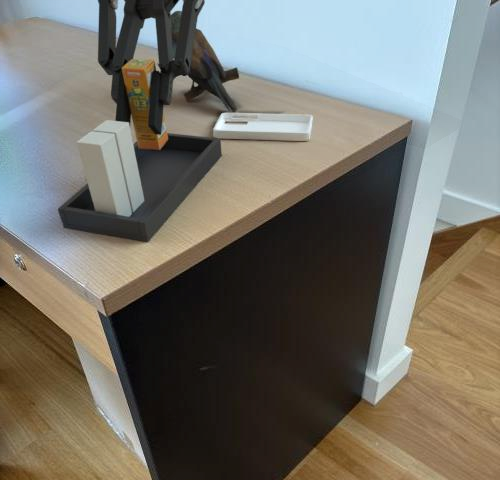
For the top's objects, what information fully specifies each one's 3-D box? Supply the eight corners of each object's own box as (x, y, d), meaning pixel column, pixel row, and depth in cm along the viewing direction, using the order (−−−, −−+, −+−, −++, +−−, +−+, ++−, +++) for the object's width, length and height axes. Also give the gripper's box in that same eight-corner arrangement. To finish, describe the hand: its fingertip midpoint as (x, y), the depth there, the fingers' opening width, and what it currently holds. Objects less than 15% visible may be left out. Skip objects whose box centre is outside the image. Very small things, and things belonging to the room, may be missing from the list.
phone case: (213, 138, 80) (309, 141, 78) (212, 130, 79) (309, 132, 77) (222, 120, 85) (312, 122, 83) (221, 112, 84) (313, 114, 82)
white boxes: (98, 223, 62) (75, 141, 55) (124, 197, 66) (106, 119, 59) (120, 226, 61) (100, 144, 54) (144, 201, 65) (129, 122, 58)
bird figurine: (265, 104, 87) (228, -24, 82) (214, 118, 84) (171, -14, 79) (236, 123, 99) (202, 13, 94) (190, 137, 96) (152, 23, 91)
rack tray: (63, 227, 62) (57, 208, 60) (151, 147, 78) (148, 130, 76) (148, 242, 59) (144, 222, 57) (221, 155, 75) (220, 138, 73)
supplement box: (136, 149, 66) (118, 66, 59) (147, 139, 69) (131, 57, 62) (159, 151, 65) (144, 67, 59) (169, 140, 68) (156, 58, 61)
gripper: (76, -85, 60) (59, 114, 59) (214, -90, 57) (196, 117, 57) (104, -37, 67) (88, 140, 67) (226, -40, 65) (211, 143, 64)
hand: (138, 129), depth 62 cm, fingers closed on supplement box, 3 cm apart
